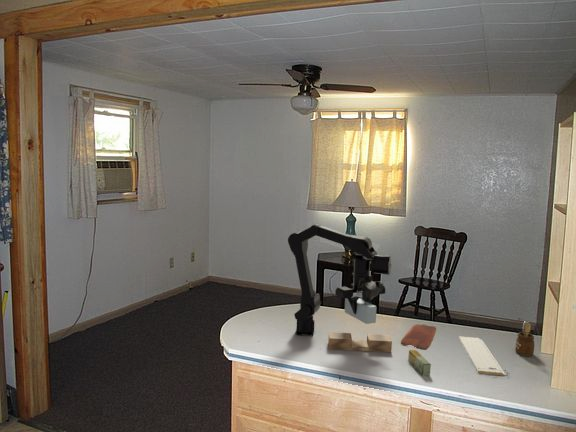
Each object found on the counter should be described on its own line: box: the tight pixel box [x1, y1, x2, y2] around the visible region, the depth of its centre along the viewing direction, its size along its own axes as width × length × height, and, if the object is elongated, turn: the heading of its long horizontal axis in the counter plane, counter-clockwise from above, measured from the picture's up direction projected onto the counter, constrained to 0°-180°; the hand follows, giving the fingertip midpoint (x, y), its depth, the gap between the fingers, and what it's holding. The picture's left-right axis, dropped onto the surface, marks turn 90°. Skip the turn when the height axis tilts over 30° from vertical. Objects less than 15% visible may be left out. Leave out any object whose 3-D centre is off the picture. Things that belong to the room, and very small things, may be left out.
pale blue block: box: [344, 297, 377, 325], centre depth 173 cm, size 14×4×6 cm, turn 27°
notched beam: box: [327, 331, 393, 353], centre depth 169 cm, size 22×6×4 cm, turn 87°
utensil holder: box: [514, 321, 535, 357], centre depth 168 cm, size 6×6×12 cm
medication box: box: [407, 349, 432, 377], centre depth 154 cm, size 12×3×4 cm, turn 8°
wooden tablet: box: [400, 323, 437, 350], centre depth 183 cm, size 27×10×2 cm, turn 153°
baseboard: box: [458, 335, 510, 376], centre depth 165 cm, size 30×3×10 cm
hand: (359, 313), depth 173 cm, fingers closed on pale blue block, 4 cm apart
